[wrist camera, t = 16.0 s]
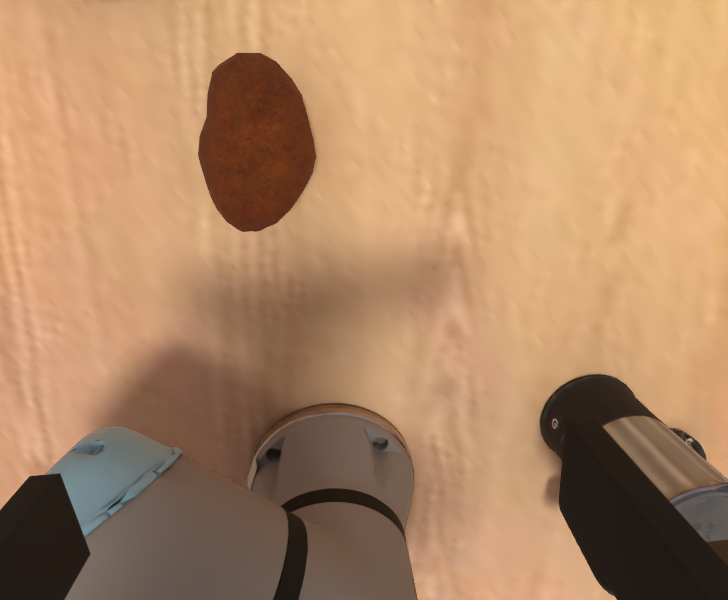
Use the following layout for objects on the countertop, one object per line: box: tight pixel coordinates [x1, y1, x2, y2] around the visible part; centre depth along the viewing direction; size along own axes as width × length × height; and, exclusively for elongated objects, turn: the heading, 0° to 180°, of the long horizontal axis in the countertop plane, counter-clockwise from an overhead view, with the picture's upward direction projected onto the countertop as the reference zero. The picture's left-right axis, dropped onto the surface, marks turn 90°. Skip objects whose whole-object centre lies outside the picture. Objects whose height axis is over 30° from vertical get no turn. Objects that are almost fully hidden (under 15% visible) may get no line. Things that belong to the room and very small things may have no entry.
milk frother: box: [541, 375, 728, 596], centre depth 39 cm, size 14×16×15 cm
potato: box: [198, 53, 316, 232], centre depth 31 cm, size 8×12×8 cm, turn 179°
